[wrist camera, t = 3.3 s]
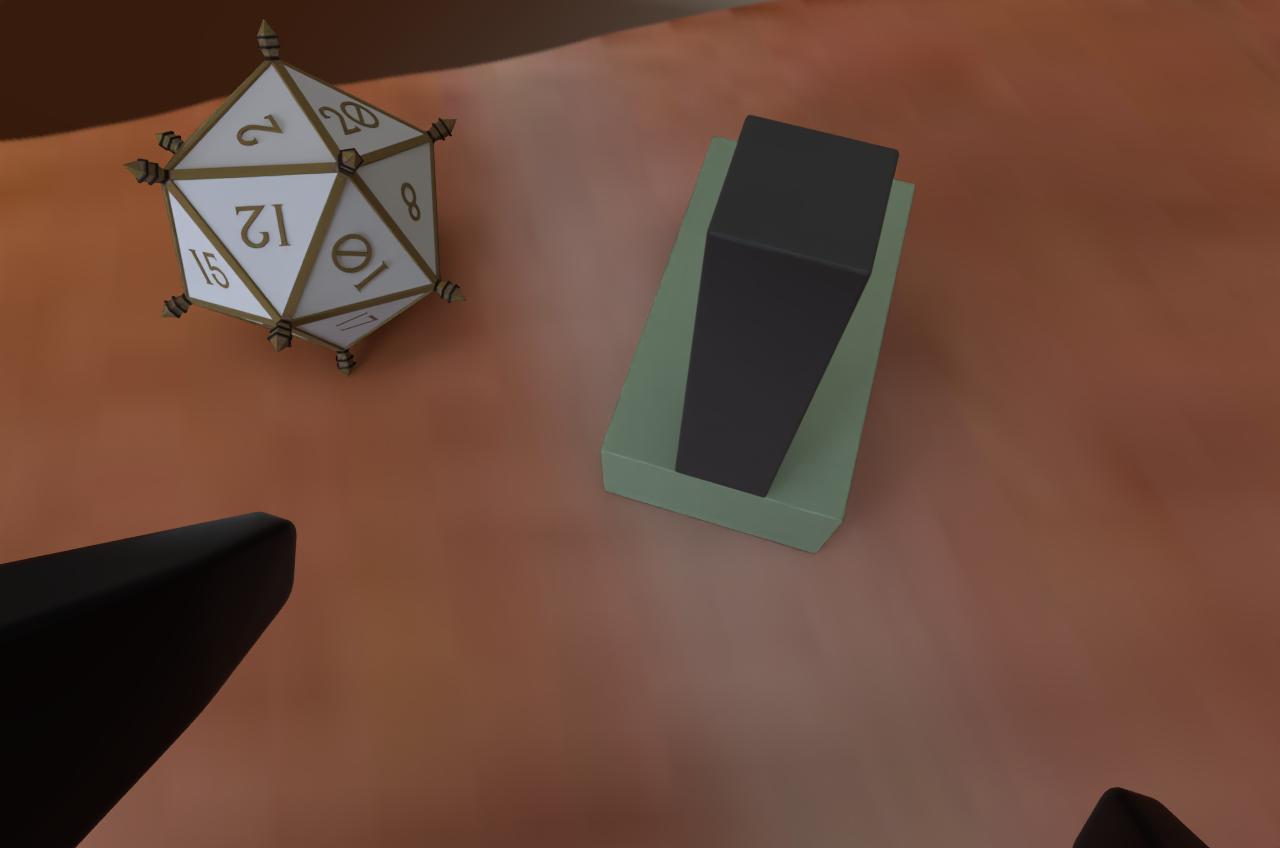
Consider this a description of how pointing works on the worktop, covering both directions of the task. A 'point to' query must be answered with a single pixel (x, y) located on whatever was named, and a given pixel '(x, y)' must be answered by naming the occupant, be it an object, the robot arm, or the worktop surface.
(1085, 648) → the worktop surface
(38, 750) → the robot arm
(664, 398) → the two-tone post fixture
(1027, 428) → the worktop surface
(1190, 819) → the worktop surface
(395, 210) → the game die
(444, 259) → the worktop surface
